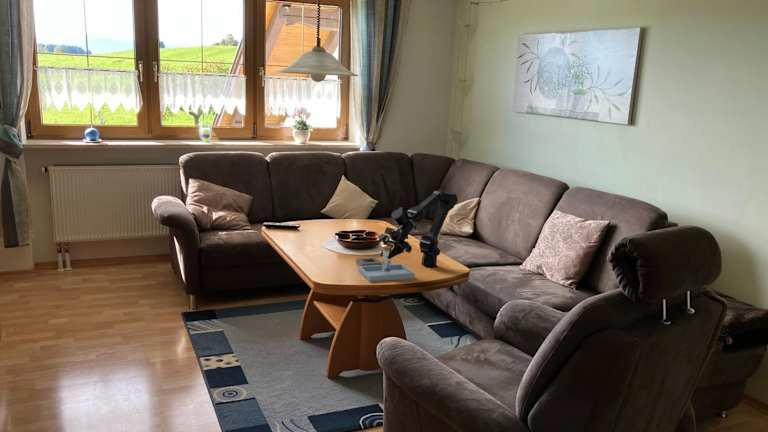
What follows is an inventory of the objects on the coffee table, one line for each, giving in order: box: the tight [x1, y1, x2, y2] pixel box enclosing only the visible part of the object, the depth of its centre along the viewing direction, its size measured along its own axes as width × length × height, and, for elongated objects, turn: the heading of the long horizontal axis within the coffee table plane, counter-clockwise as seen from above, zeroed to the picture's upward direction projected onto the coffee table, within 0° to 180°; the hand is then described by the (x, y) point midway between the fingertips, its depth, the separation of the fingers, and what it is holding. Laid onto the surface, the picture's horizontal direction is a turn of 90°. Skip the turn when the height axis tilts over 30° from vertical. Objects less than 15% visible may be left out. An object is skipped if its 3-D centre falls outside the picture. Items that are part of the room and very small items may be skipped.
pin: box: [381, 243, 394, 272], centre depth 289 cm, size 6×6×12 cm
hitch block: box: [355, 257, 383, 267], centre depth 305 cm, size 10×10×2 cm
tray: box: [358, 263, 416, 283], centre depth 291 cm, size 22×16×3 cm
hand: (384, 257), depth 288 cm, fingers closed on pin, 5 cm apart
